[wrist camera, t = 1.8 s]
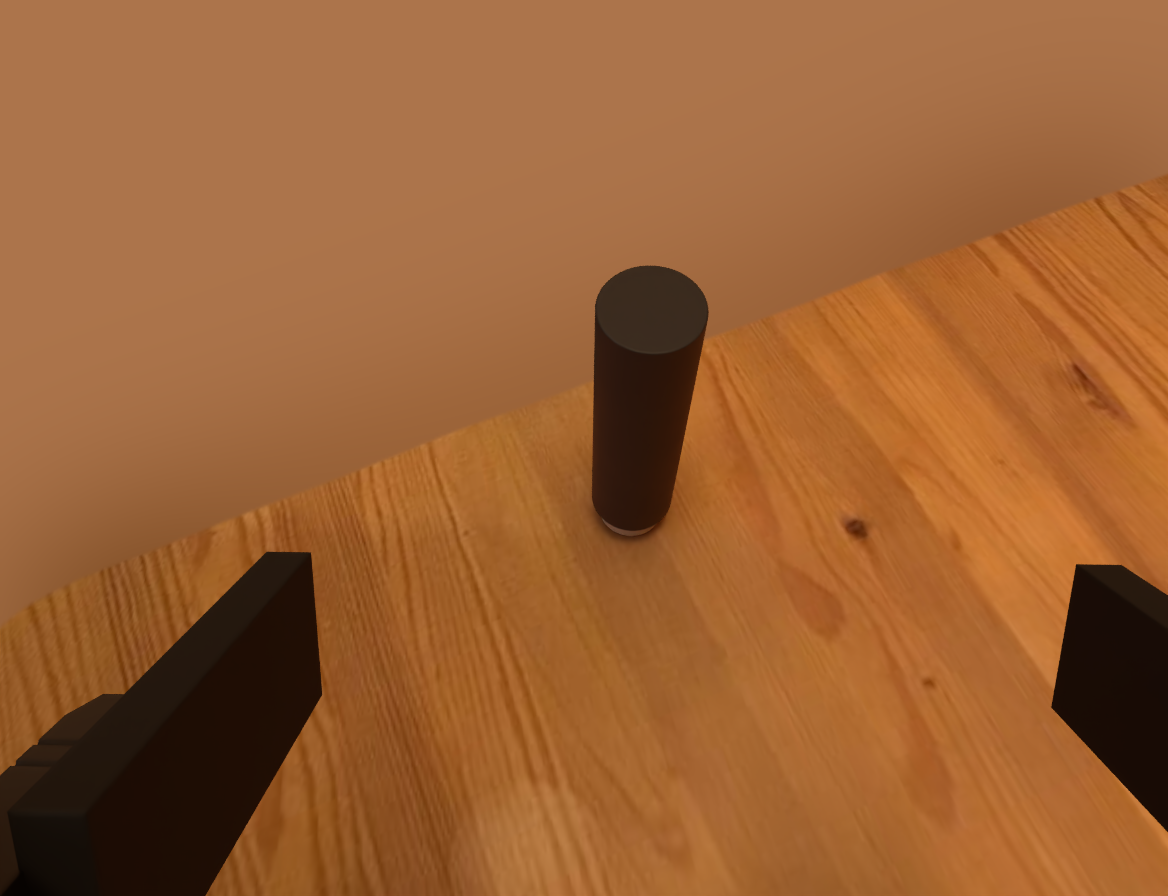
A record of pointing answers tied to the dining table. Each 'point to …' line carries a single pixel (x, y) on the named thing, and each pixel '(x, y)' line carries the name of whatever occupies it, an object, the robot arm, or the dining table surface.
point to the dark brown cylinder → (643, 391)
